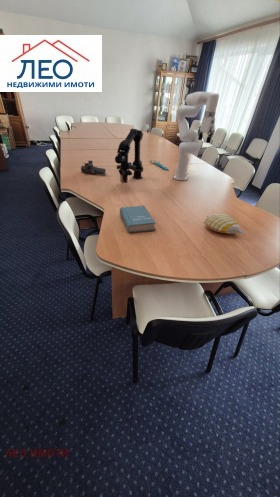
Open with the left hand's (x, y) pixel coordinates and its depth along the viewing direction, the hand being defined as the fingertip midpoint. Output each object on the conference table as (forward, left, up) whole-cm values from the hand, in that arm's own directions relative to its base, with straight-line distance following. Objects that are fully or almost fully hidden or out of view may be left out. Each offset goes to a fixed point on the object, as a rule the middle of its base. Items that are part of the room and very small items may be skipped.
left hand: (123, 180), depth 178 cm
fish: (-21, +85, -6) cm, 88 cm away
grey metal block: (0, 0, -1) cm, 1 cm away
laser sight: (+9, -42, -6) cm, 43 cm away
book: (+21, +52, -6) cm, 57 cm away
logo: (-68, -40, -6) cm, 79 cm away
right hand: (-52, +29, +32) cm, 67 cm away
